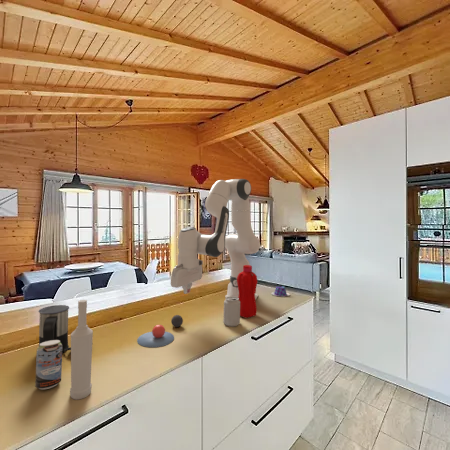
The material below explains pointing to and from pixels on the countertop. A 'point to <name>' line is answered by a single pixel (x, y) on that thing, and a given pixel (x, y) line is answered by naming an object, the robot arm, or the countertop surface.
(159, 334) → the object ball
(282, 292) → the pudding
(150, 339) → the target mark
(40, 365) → the beverage can
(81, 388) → the bottle
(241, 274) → the water bottle
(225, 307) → the can
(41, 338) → the milk frother
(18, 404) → the countertop surface
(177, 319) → the dark grey ball
